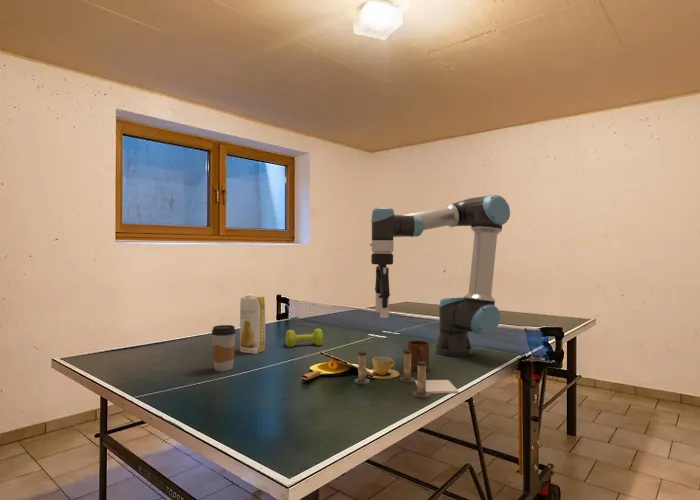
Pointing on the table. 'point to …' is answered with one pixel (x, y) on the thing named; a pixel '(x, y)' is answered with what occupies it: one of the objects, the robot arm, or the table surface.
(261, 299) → the juice carton
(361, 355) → the posts
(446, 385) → the coaster
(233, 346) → the coffee cup
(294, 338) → the dumbbell
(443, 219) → the robot arm
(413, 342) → the mug
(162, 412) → the table surface
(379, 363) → the cup
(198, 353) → the table surface
